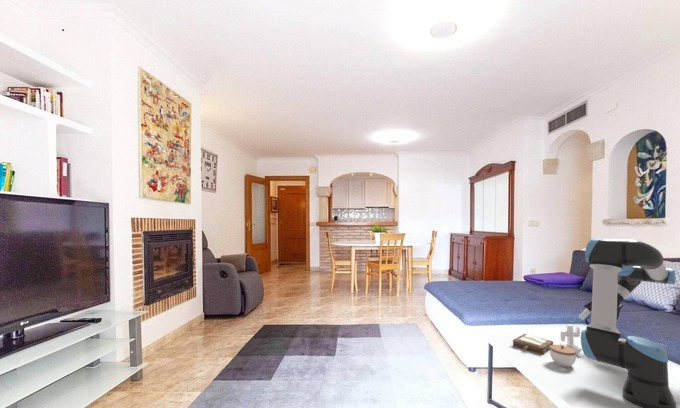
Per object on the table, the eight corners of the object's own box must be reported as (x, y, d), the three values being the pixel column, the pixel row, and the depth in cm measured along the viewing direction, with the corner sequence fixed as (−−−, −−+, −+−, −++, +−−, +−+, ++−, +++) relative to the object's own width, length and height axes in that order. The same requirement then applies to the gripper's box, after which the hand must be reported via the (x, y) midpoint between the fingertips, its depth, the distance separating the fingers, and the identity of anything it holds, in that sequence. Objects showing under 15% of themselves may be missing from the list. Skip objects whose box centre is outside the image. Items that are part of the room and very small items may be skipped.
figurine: (557, 350, 176) (556, 322, 176) (575, 350, 175) (574, 323, 176) (565, 355, 168) (564, 326, 169) (584, 356, 168) (583, 327, 169)
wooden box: (540, 356, 166) (540, 348, 167) (510, 347, 178) (510, 340, 178) (553, 347, 179) (553, 340, 179) (524, 340, 190) (524, 333, 191)
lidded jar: (581, 370, 151) (580, 350, 152) (555, 368, 153) (555, 348, 154) (569, 361, 162) (569, 342, 162) (546, 359, 164) (545, 340, 164)
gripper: (643, 305, 161) (614, 335, 160) (603, 294, 186) (578, 320, 185) (632, 294, 161) (603, 324, 160) (593, 284, 186) (568, 310, 185)
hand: (590, 322), depth 173 cm, fingers open, 13 cm apart
